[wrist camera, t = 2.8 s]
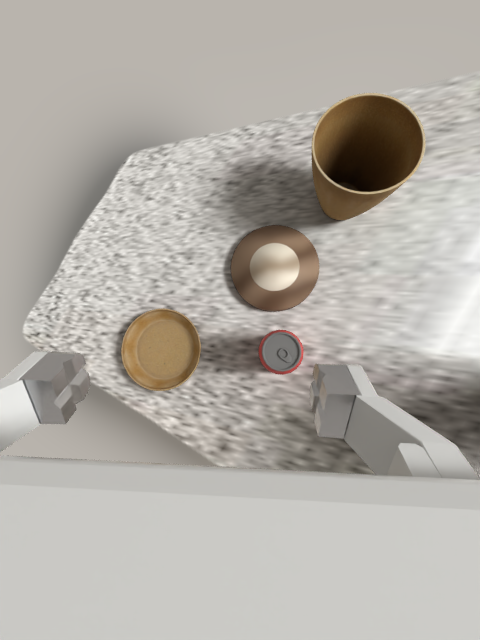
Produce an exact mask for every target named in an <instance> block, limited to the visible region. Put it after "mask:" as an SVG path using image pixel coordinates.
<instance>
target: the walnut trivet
mask: <svg viewBox="0 0 480 640" xmlns="http://www.w3.org/2000/svg"><path fill="white" fill-rule="evenodd" d="M318 274H319V260H318V255H317V253H316V250H315V248H314V246H313V245H312V243H311V242H310V241H309V240H308V238H307V237H306V236H304V235H303V234H302V233H300V232H299V231H297V230H295V229H293V228H290V227H286V226H281V225H271V226H265V227H262V228H259V229H257V230H254V231H253V232H251V233H249V234H248V235H247V236H246V237H245V238H244V239H243V240H242V241H241V242H240V243H239V245H238V246H237V248H236V250H235V251H234V254H233V257H232V261H231V275H232V279H233V283H234V285H235V287H236V289H237V291H238V293H239V294H240V295H241V297H242V298H243V299H244V300H245V301H246V302H248V303H249V304H251V305H252V306H254V307H256V308H258V309H261V310H265V311H273V312H275V311H283V310H287V309H290V308H293V307H295V306H297V305H298V304H300V303H301V302H302V301H304V300H305V299H306V298H307V297H308V295H309V294H310V293H311V291H312V290H313V288H314V286H315V284H316V282H317V279H318Z"/></svg>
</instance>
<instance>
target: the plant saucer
mask: <svg viewBox="0 0 480 640" xmlns="http://www.w3.org/2000/svg"><path fill="white" fill-rule="evenodd" d="M200 352H201V343H200V338H199V334H198V332H197V330H196V328H195V326H194V325H193V323H192V322H191V321H190V320H189V319H188V318H187V317H186V316H184V315H183V314H181V313H179V312H177V311H175V310H171V309H154V310H150V311H148V312H145V313H144V314H142V315H140V316H139V317H138V318H136V319H135V320H134V321H133V322H132V323H131V325H130V326H129V327H128V329H127V331H126V333H125V335H124V337H123V341H122V346H121V355H122V361H123V365H124V367H125V369H126V371H127V373H128V375H129V376H130V377H131V378H132V380H133V381H135V382H136V383H137V384H138V385H140V386H142V387H143V388H146V389H149V390H153V391H165V390H170V389H173V388H176V387H178V386H180V385H181V384H183V383H184V382H185V381H186V380H187V379H188V378H189V377H190V376H191V375H192V374H193V372H194V371H195V369H196V367H197V365H198V362H199V359H200Z"/></svg>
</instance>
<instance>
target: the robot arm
mask: <svg viewBox="0 0 480 640" xmlns="http://www.w3.org/2000/svg"><path fill="white" fill-rule="evenodd" d="M85 364H86V363H85V359H84V356H83V355H82V354H80V353H69V352H54V351H52V352H51V351H35V352H33V353H32V354H31V355H29V356H28V357H27V358H26V359H25V360H24V361H22V362H21V363H20V364H19V365H18V366H16V367H15V368H14V369H13V370H12V371H10V372H9V373H8V374H7V375H6V376H5V377H3V378H2V379H0V452H1V451H3V450H4V449H6V448H7V447H9V446H10V445H12V444H13V443H14V442H16V441H17V440H19V439H20V438H22V437H23V436H25V435H26V434H28V433H29V432H30V431H32V430H33V429H35V428H36V427H38V426H39V425H40V424H66V423H67V422H68V420H69V419H70V418H71V416H72V415H73V414H74V412H75V411H76V404H77V403H79V402H80V401H82V400H84V398H85V397H86V395H87V393H88V391H89V387H90V378H89V374H88V373H87V372H86V371H85V370H84V369H83V367H84V365H85ZM313 376H314V381H313V382H312V383H311V387H310V405H311V410H312V411H313V412H314V413H315V418H314V422H315V426H316V430H317V434H318V437H330V438H343V439H344V440H345V441H346V442H347V443H348V445H349V446H350V447H351V448H352V449H353V450H354V451H355V452H356V453H357V454H358V455H359V456H360V458H361V459H362V460H363V461H364V462H365V463H366V464H367V465H368V466H369V467H370V468H371V470H372V471H373V472H374V473H375V474H376V475H373V474H354V473H334V472H315V471H296V470H276V469H257V468H238V467H218V466H199V465H179V464H161V463H142V462H123V461H102V460H82V459H63V458H42V457H23V456H4V455H3V456H2V455H0V640H480V478H479V476H478V475H477V474H476V472H475V471H474V469H473V468H472V467H471V465H470V464H469V463H468V461H467V460H466V458H465V457H464V456H463V454H462V453H461V451H460V450H459V449H458V447H457V446H456V445H455V444H454V443H452V442H451V441H449V440H448V439H446V438H445V437H443V436H442V435H440V434H439V433H437V432H436V431H434V430H433V429H431V428H430V427H428V426H427V425H425V424H423V423H422V422H420V421H419V420H417V419H416V418H414V417H413V416H411V415H410V414H408V413H407V412H405V411H404V410H402V409H401V408H399V407H398V406H396V405H395V404H393V403H392V402H390V401H389V400H387V399H386V398H384V397H379V396H378V395H377V393H376V391H375V390H374V388H373V386H372V384H371V382H370V380H369V379H368V377H367V375H366V373H365V371H364V370H363V368H362V366H361V365H350V364H345V365H335V364H315V366H314V370H313Z"/></svg>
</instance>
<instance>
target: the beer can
mask: <svg viewBox="0 0 480 640" xmlns="http://www.w3.org/2000/svg"><path fill="white" fill-rule="evenodd" d="M259 357H260V361H261V363H262V364H263V366H264V367H265V368H266V369H267V370H269V371H270V372H273V373H275V374H282V375H283V374H287V373H291V372H292V371H294V370H295V369H297V367H298V366H299V365H300V364H301V361H302V359H303V347H302V343H301V342H300V340H299V339H298V337H297V336H295V335H294V334H293V333H291V332H289V331H286V330H276V331H272V332H270V333H269V334H267V335H266V336H265V337H264V338H263V339H262V341H261V343H260V346H259Z"/></svg>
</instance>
